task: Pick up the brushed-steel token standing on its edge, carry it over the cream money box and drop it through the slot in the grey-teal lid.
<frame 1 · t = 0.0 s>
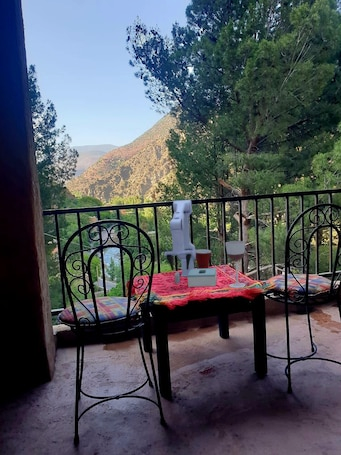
hand: (180, 269, 182), 10 cm above the table, tool pointing down, fingers open, 7 cm apart
plastic cup: (203, 270, 220), on the table
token: (177, 282, 196), on the table
coin box: (203, 282, 191), on the table
wineglass: (237, 285, 182), on the table
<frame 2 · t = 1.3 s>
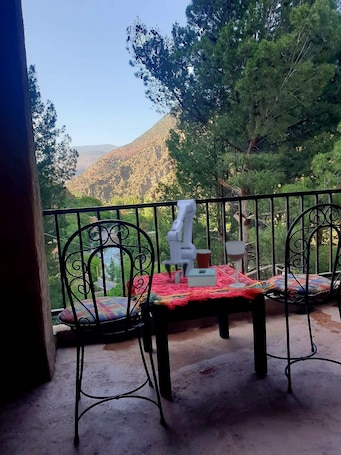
hand: (177, 277, 196), 3 cm above the table, tool pointing down, fingers open, 7 cm apart
nothing on the table moved.
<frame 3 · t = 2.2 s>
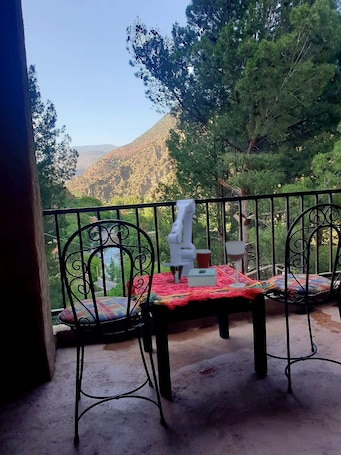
hand: (177, 279, 196), 1 cm above the table, tool pointing down, fingers closed on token, 2 cm apart
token: (177, 282, 196), on the table, touching gripper
everything else where it was.
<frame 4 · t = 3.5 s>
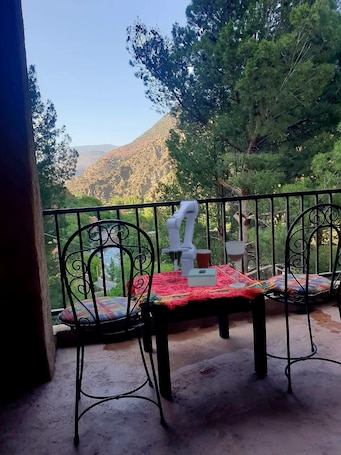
hand: (176, 265, 195), 9 cm above the table, tool pointing down, fingers closed on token
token: (176, 269, 195), point 7 cm above the table, touching gripper
everything else where it was.
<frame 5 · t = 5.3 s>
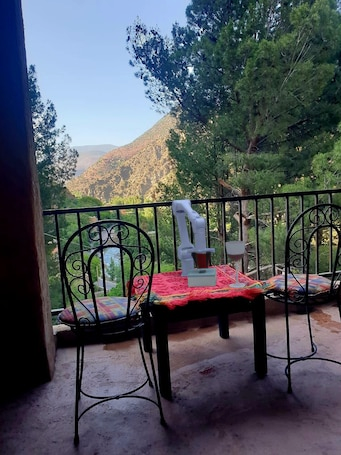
hand: (201, 266, 190), 9 cm above the table, tool pointing down, fingers open, 5 cm apart
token: (203, 282, 191), resting in coin box
everything else where it was.
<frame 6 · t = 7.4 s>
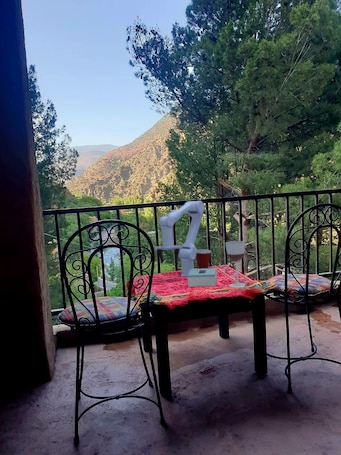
hand: (169, 262, 198), 10 cm above the table, tool pointing down, fingers open, 7 cm apart
nothing on the table moved.
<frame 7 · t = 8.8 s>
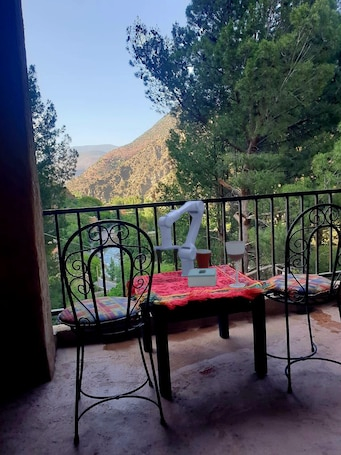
hand: (168, 262, 199), 10 cm above the table, tool pointing down, fingers open, 7 cm apart
nothing on the table moved.
at the end: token inside the target area on the coin box (0.0 cm from its centre), point 0.0 cm above the coin box's base; the gripper is holding nothing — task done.
